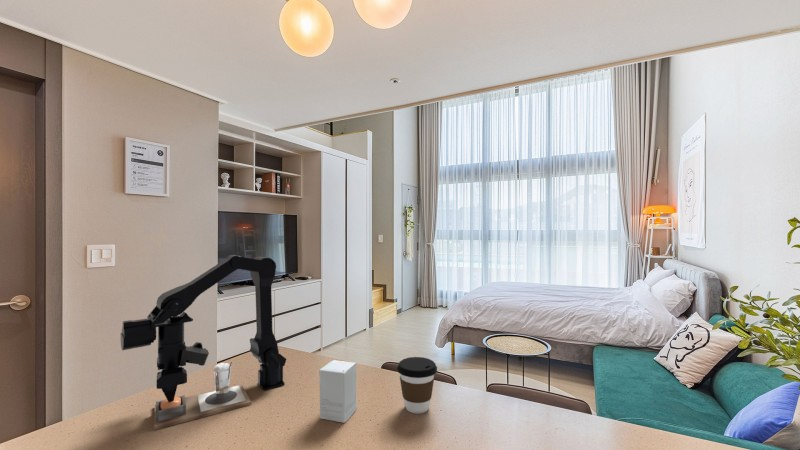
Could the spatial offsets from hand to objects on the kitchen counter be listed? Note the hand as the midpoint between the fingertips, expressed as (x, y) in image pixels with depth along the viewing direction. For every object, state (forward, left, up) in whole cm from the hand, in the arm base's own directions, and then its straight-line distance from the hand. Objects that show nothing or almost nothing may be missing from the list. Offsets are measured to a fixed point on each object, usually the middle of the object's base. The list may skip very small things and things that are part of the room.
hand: (171, 401), depth 92 cm
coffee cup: (-56, +33, -4) cm, 64 cm away
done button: (0, 0, -3) cm, 3 cm away
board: (-8, -1, -4) cm, 8 cm away
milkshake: (-13, -1, -3) cm, 13 cm away
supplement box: (-36, +24, -4) cm, 44 cm away
